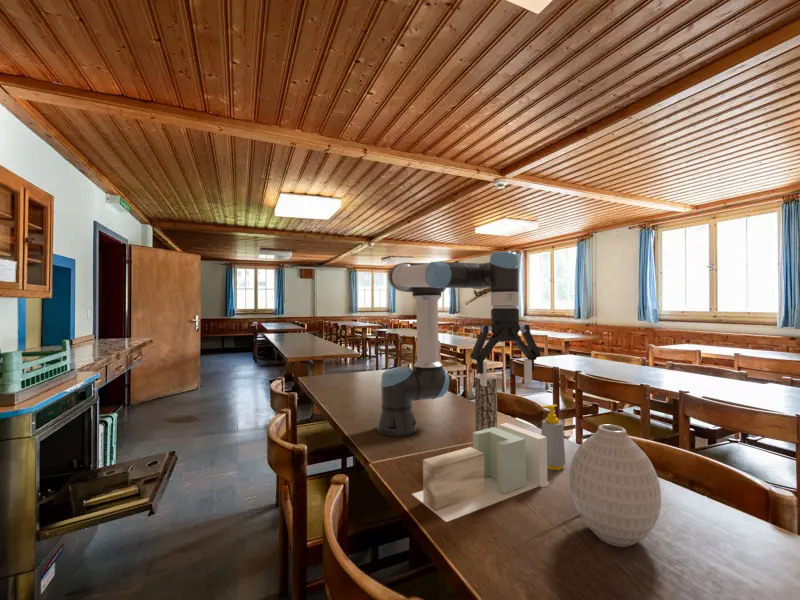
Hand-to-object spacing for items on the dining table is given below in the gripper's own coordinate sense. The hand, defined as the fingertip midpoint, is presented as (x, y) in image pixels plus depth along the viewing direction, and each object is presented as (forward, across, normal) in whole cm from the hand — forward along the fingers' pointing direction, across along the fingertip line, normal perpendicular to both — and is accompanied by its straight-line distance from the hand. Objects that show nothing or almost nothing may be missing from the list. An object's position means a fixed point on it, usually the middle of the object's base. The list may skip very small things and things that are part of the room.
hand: (506, 384), depth 103 cm
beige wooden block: (+25, -19, -8) cm, 32 cm away
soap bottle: (+26, +16, +3) cm, 31 cm away
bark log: (+26, +2, +16) cm, 31 cm away
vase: (+26, +8, -29) cm, 40 cm away
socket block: (+25, -4, -4) cm, 25 cm away
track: (+26, -10, -5) cm, 28 cm away
